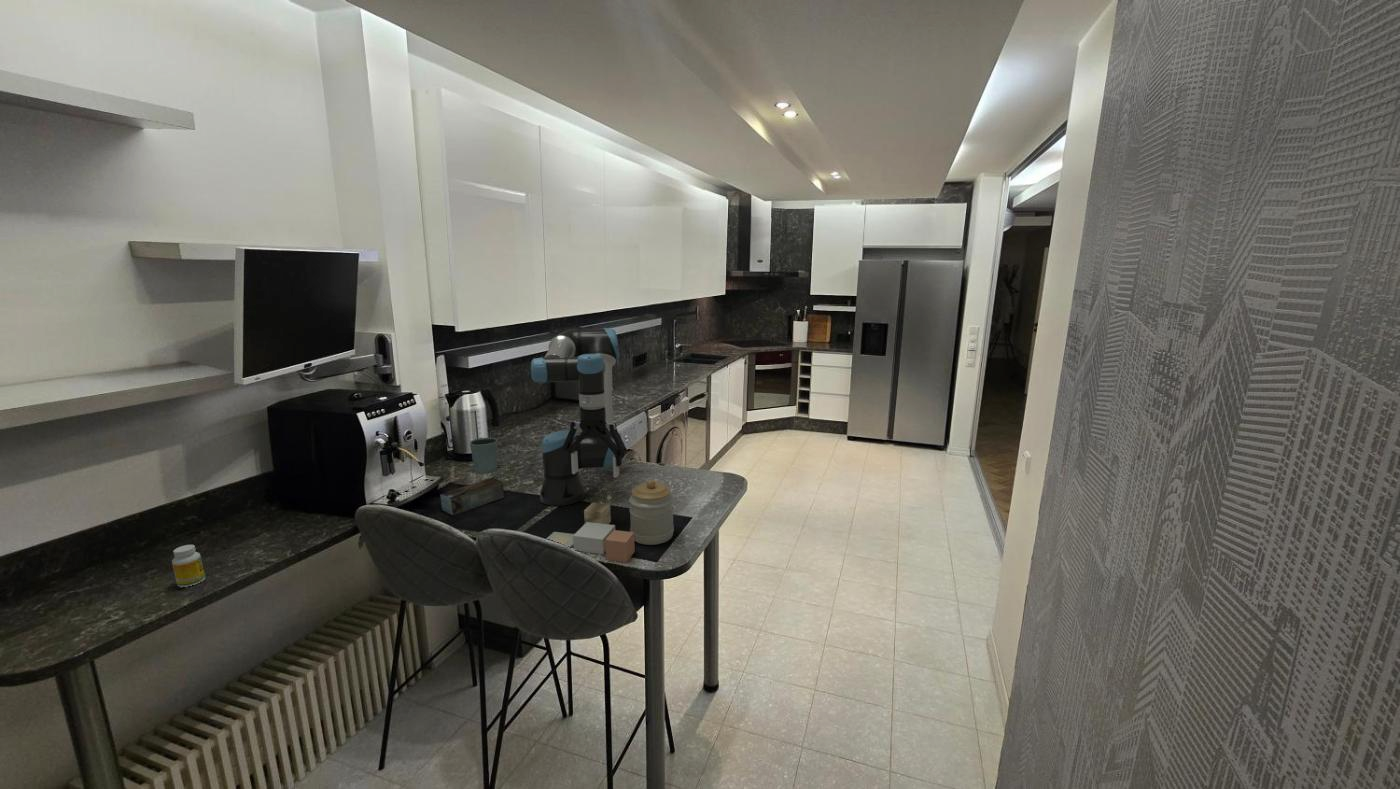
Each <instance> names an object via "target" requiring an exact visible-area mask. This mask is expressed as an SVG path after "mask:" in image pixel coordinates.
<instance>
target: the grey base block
mask: <svg viewBox="0 0 1400 789" xmlns="http://www.w3.org/2000/svg"><path fill="white" fill-rule="evenodd" d="M614 530H616V525H615V524H610V523H609V524H600V523H591V522H586V523H585V522H584V524H583V525H582V526H581V527H580V528H579V529H578V530H577V531H576V532H575V533H573V534H574V535H573V550H574V549H576V550H578V551H577V552H584V553H591V554H599V555H600V554H601V555H604V554H606V541H605V540H606V539H607V538H608V536H609V535H610V534H611V533H612V532H613V531H614Z"/></svg>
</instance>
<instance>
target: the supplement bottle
mask: <svg viewBox="0 0 1400 789" xmlns="http://www.w3.org/2000/svg"><path fill="white" fill-rule="evenodd" d="M172 552H173V556H174V558H173V559H172V561H171V564H172V569H173V573H174V577H175V581H176V582H175V583H176V585H177V587H178V586H179V587H178V588H183V587H185V588H189V587H188V586H191V587H193V586H192V585H194V586H196V584H197V585H199V584H201V583H203V582H204V581H205V580H206V573H205V570H204V565H203V561H202V556H201V553H200V552H197V551H196V546H195V545H194V544H185V545H180V546H179V547H177V548H175V549H174V550H173V551H172ZM200 582H201V583H200ZM198 583H199V584H198Z"/></svg>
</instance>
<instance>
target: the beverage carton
mask: <svg viewBox="0 0 1400 789" xmlns="http://www.w3.org/2000/svg"><path fill="white" fill-rule="evenodd" d="M504 492H505V491H504V483H503V481H501V480H498V479H495V478H494V477H490V478H485V479H483V480H481V481H476V482H474V483H470V484H468V485H464V486H462V487H459V488H456V489H454V490H453V489H452V490H450V491H446V492H442V493H440V502H441V504H440V505H441V508H442V509H441V510H442V511H444V512H446V513H448V514H450V515H452V516H456V515H459V514H462V513H465V512H467V511H470V510H473V509H477V508H479V507H481V506H484V505H487V504H489V503H492V502H495V501H498V500H500V499H501V500H502V499H504V498H505V493H504Z"/></svg>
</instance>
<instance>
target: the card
mask: <svg viewBox="0 0 1400 789" xmlns="http://www.w3.org/2000/svg"><path fill="white" fill-rule="evenodd" d="M574 534H575V533H568V532H567V533H566V532H559V531H553V532H552V533H551V534H550V535H549V536H548V537H546V539H550V540H553V541H555V542H559V543H561V544H564V545H566V546H569V547H571V548H572V547H574V545H573V535H574Z"/></svg>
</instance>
